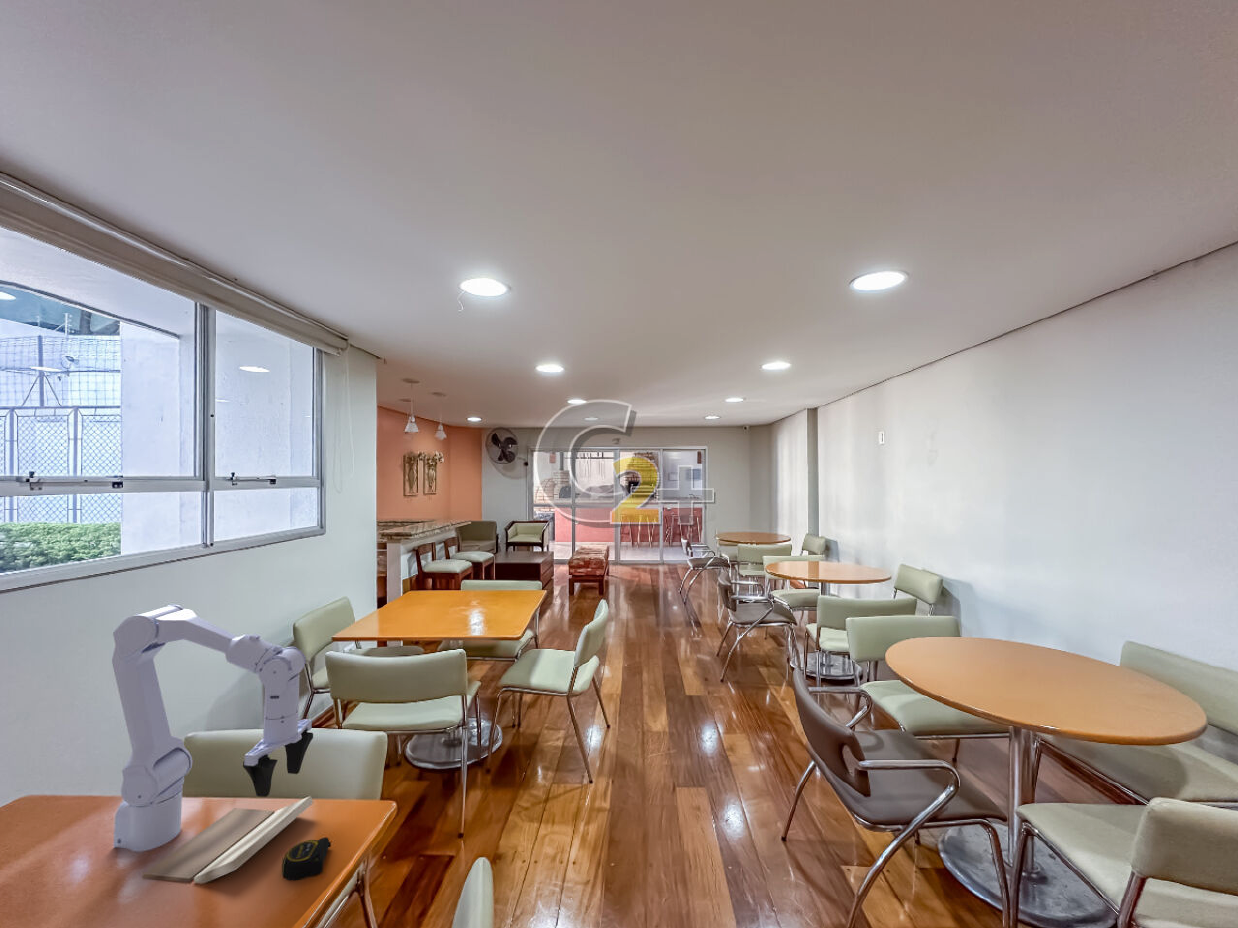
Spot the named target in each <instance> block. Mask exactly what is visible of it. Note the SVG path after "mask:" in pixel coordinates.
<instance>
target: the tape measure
mask: <svg viewBox="0 0 1238 928" xmlns="http://www.w3.org/2000/svg"><path fill="white" fill-rule="evenodd" d="M331 847H332V841H330V839H329V838H328V837H323V838H319V839H317V840H316V839H309V840H304V841H301V842H299V843H298V844H297V843H296V844H295V845H294V846H291V848H290V849H288V851H287V852H286V853H285V854H284V857H283V859H282V863H281V876H282V878H283V879H285V880H287V881H299V880H300V881H301V880H303V879H306V878H309V877H315V876H319V875H321V873H322V872H323V870H324V863H325V860H326V858H327V855H328V850H329V848H331Z"/></svg>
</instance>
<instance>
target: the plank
mask: <svg viewBox="0 0 1238 928" xmlns="http://www.w3.org/2000/svg"><path fill="white" fill-rule="evenodd" d="M313 804H314V801H313V799H312V796H311V795H309V796H307V797H305V798H303V799H300V800H299V801H296V802H294V803H291V804H288V805H287V806H284V807H282V808H280V809H278V810H276V811H274V814H273V815H271V816H270V817H269V818H268V819H266V820H265V821H264V822H263V823H261V824H260V825H259V826H258V827H256V828H255V829H254V830H253V831H251V832H250V833H249V834H248V835H246V836H245V837H244V838H243V839H242V840H240V841H239V842H238V843H237V844H235V845H234V846H233V847H232V848H230V849H229V850H228V851H227V852H225V853H224V854H223V855H222V856H220V857H219V858H218V859H217V860H215V861H214V862H213V863H212V864H210V865H209V866H208V867H207V868H205V869H204V870H203V871H202V872H200V873H199V874H198V875H197V876H195V877H194V879H193V880H194V883H195V884H206V883H209V882H211V881H213V880H216V879H218V878H220V877H222V876H224V875H227V874H229V873H232V872H234V871H235V870H237V869H239V868H240V867H241V866H242V865H243V864H244V863H246V862H247V861H248V860H249V859H250V858H252V856H254V855H255V854H256V853H257V852H258V851H259V850H260V849H262V848H263V847H264V846H265V845H267V844H268V842H270V841H271V840H272V839H273V838H275V837H276V836H277V835H278V834H280V833H281V832H282V831H283V830H284V829H285V828H286V827H288V825H290V824H291V823H292V822H293V821H295V820H296V818H298V817H299V816H300V815H302V813H304V812H305V811H306V810H307V809H308V808H309V807H310V806H312V805H313Z"/></svg>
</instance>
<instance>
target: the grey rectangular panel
mask: <svg viewBox="0 0 1238 928" xmlns="http://www.w3.org/2000/svg"><path fill="white" fill-rule="evenodd" d="M274 813H275V810H267V809H255V808H254V809H252V808H241V807H234V808H232V809H231V810H230V811H228V812H227V813H225V814H224V815H223V816H221V817H220V818H219V819H217V820H216V821H215V822H214V823H212V824H211V825H209V826H208V827H206V828H205V829H204V830H202V831H201V832H200V833H198V834H196V835H195V836H194V837H192V838H191V839H190V840H188V841H187V842H186V843H184V844H183V845H181V846H180V847H178V848H177V849H175V850H174V851H172V852H171V854H168V855H167V856H165V857H164V858H163V859H162V860H160V861H159V862H157V863H156V864H155V865H154V866H152V867H151V868H149V869H148V870H146V871H145V872H144V873H143V874H142V878H144V879H151V880H152V879H153V880H161V881H162V880H164V881H165V880H166V881H175V882H183V883H184V882H185V883H191V882H192V881H193V880H194V877H195V876H197V875H198V874H199V873H200V872H202V871H203V870H204V869H205V868H207V867H208V866H209V865H210V864H212V863H213V862H214V861H215V860H217V859H218V858H219V857H220V856H222V855H223V854H224V853H225V852H227V851H228V850H229V849H230V848H232V847H233V846H234V845H235V844H237V843H238V842H239V841H240V840H242V839H243V838H244V837H245V836H246V835H248V834H249V833H250V832H251V831H253V830H254V829H255V828H256V827H258V826H259V825H260V824H261V823H263V822H264V821H265V820H266V819H268V818H269V817H270V816H271V815H273V814H274Z"/></svg>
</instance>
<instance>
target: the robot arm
mask: <svg viewBox="0 0 1238 928" xmlns="http://www.w3.org/2000/svg"><path fill="white" fill-rule="evenodd" d="M112 635H113V639H114V644H115V646H114V650H113V655H112V659H111V664H112V669H113V672H114V677H115V682H116V685H117V690H118V694H119V698H120V703H121V706H122V707H121V708H122V712H123V715H124V720H125V723H126V728H127V732H128V738H129V741H130V746H131V751H132V752H131V754H130V757H129V758H128V760H127V761H126V762H125V765H124V766H123V767H122V770H121V773H122V778H123V780H122V782H121V787H120V794H121V797H122V802H121V804H120V805H119V806H118V809H117V810H116V812H115V816H114V828H113V848H122V849H123V848H124V849H127V850H130V851H132V852H145V851H149V850H153V849H156V848H159V847H161V846H164V845H165V844H167V843H168V842H169V843H170V841H172V840H174V839H175V838H176V837H177V836H179V834H180V833H181V829H182V806H183V805H182V804H183V802H182V801H183V784H184V783H185V776H186V775H188V774H189V773H190V771H191V769H192V766H193V763H194V760H193V757H192V755H191V753H190V752H189V750H188V749H186V747H185V745H184V741H183V739H181V738H179V737H175V736H172V734H171V729H170V726H169V721H168V717H167V713H166V709H165V705H164V701H163V696H162V691H161V688H160V687H161V686H160V683H159V679H158V675H157V674H158V673H157V670H156V666H155V661H154V659H155V657H156V656H157V655H158V654H159V653H160V651H161V650H162V649H163V648H164V646H166V645H167V643H171V642H177V641H182V640H185V641H187V642H190V643H194V644H196V645H199V646H202V647H206V648H209V649H212V650H214V651H216V652H219V653H220V652H221V653H223V654H224V655H225V660H226V662H227V663H229V664H232V665H234V666H236V667H239V668H241V669H243V670H246V671H248V672H251V673H253V674H255V675H258V678H259V680H260V682H261V683H262V684H263V686H264V705H263V706H264V707H263V712H264V713H263V728H262V729H263V730H262V731H263V733H262V738H261V740H260V741H258V743H257V744H255V746H254V747H253V748H252V749H251V750H250V751H248V752H247V753H246V754H244V760H243V761H242V767H243V769H244V770H245V772H247V774H248V776H249V777H250V779H251V781H252V783H253V784H252V785H253V787H254V791H255V795H256V797H261V798H263V797H264V798H266V797H268V796H269V795H270V792H271V788H272V787H271V786H272V778H273V773H274V770H275V768H276V765H277V762H278V759H276V758H275V759H273V758H272V759H271V758H270V757H269V755H270V754H272V753H273V752H274V751H276V750H278V749H280V748H282V747H284V749H285V754H286V770H287V774H290V775H291V774H293V775H298V774H299V773H300V770H301V767H302V764H303V762H304V761H303V760H304V758H305V755H306V752H307V750H308V748H309V745H310V743H311V742H312V740H313V739H314V732H309V731H311V730H312V727H313V726H312V723H313V722H312V721H313V720H312V719H307V718H306V719H301V720H299V706H300V678H301V677H300V672H302V670H303V669H304V668H305V665H306V662H307V661H306V656H305V653H304V652H303V651H302V650H300V649H298V648H297V646H287V647H283V646H282V645H281V644H277V645H276V644H273V643H271V642H268V641H266V640H263V639H261V635H260V634H257V633H253V634H249V633H248V634H243V635H241V636H237V635H235V634H234V633H232V632H230V631H227V630H226V629H223V628H221V627H219V626H218V625H215V624H213V623H211V622H209V621H207V620H206V619H203V618H202V617H200V616H197V614H196V613H195V611H193V610H192V609H187V608H185V607H183V606H181V605H178V604H169V605H165V606H163V607H161V608H157V609H154V610H150V611H147V612H143V613H140V614H135V615H131V616H128V617H127V618H126V619H124V620H123V621H122V622H121V623H120V625H119V626H117V627H116V629H114V631H113V632H112Z"/></svg>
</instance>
